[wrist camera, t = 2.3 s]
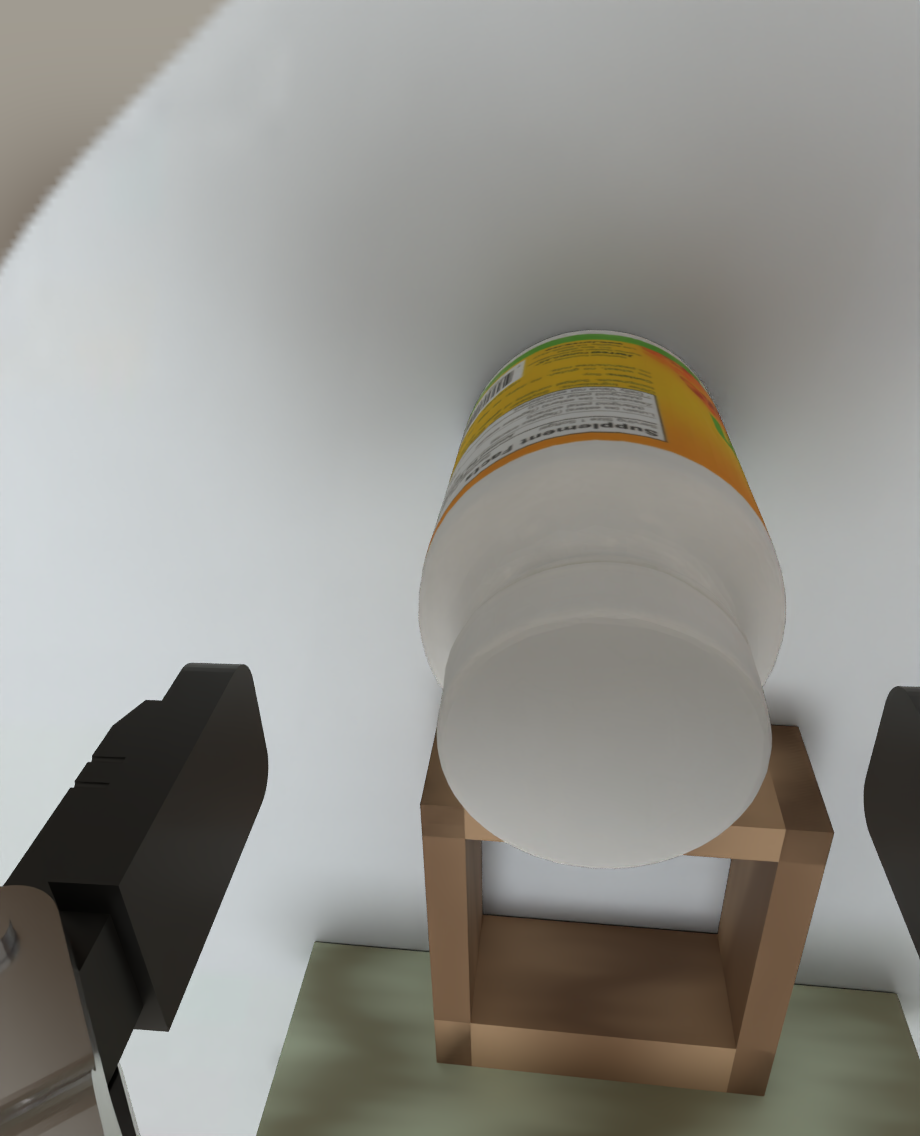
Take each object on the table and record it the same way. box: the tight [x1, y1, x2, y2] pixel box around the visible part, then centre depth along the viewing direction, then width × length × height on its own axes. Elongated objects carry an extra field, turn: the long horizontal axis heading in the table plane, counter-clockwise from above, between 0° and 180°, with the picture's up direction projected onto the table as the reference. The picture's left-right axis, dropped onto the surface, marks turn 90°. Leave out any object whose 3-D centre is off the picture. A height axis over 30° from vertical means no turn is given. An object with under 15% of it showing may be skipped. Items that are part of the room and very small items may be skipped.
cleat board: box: [256, 725, 920, 1136], centre depth 21 cm, size 18×12×10 cm, turn 92°
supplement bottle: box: [419, 330, 786, 869], centre depth 14 cm, size 5×5×10 cm
